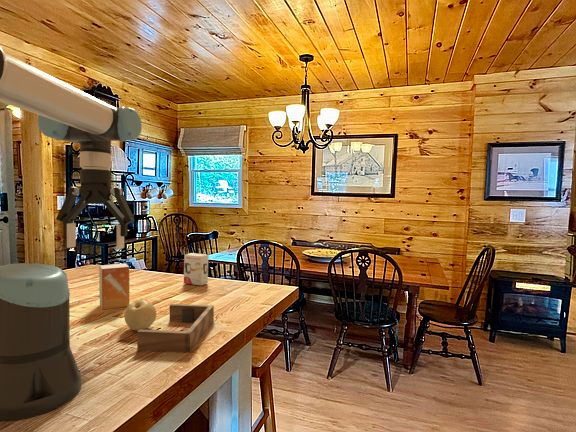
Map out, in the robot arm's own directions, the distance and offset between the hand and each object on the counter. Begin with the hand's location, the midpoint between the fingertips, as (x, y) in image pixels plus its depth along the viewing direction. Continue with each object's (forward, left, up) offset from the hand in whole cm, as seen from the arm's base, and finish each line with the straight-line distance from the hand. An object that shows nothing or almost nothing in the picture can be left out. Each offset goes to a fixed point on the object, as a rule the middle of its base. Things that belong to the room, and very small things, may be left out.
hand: (95, 248), depth 100 cm
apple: (-2, -13, -22) cm, 25 cm away
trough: (-4, -25, -21) cm, 33 cm away
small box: (+17, +4, -22) cm, 28 cm away
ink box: (+48, -13, -22) cm, 54 cm away
